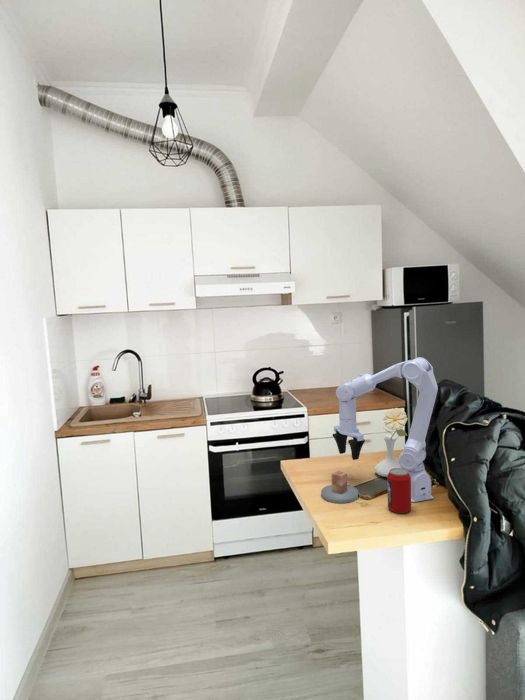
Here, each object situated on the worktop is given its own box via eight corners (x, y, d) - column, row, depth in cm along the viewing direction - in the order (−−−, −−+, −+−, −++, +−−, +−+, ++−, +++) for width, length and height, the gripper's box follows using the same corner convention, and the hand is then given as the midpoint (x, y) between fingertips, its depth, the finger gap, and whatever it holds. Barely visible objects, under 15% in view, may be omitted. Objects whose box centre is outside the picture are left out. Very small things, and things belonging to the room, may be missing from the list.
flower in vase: (367, 474, 172) (366, 407, 170) (387, 466, 179) (386, 401, 177) (398, 484, 162) (396, 412, 160) (417, 476, 169) (417, 406, 167)
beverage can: (393, 503, 148) (392, 465, 147) (414, 508, 144) (414, 469, 143) (384, 511, 143) (383, 472, 142) (405, 516, 139) (405, 476, 137)
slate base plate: (365, 499, 151) (365, 495, 151) (330, 506, 148) (330, 501, 148) (348, 486, 163) (348, 482, 163) (315, 491, 159) (315, 487, 159)
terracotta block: (347, 490, 156) (346, 472, 155) (341, 494, 153) (341, 476, 152) (337, 488, 158) (337, 470, 157) (332, 491, 155) (331, 474, 154)
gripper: (370, 420, 159) (371, 459, 160) (345, 412, 172) (346, 448, 173) (353, 423, 156) (354, 463, 157) (328, 414, 169) (329, 452, 170)
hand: (348, 456), depth 165 cm, fingers open, 7 cm apart
